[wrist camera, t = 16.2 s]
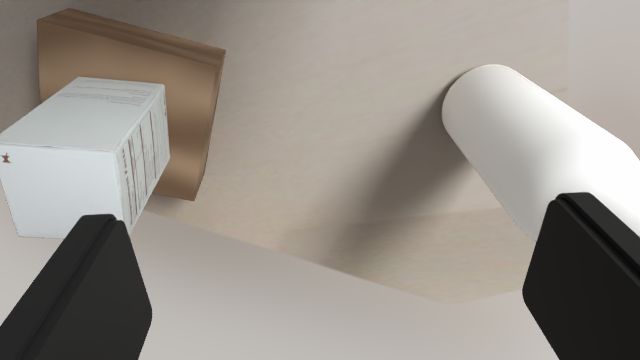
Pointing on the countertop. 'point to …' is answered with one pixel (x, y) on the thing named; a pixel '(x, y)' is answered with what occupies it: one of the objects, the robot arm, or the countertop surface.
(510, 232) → the countertop surface
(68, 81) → the walnut block
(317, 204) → the countertop surface
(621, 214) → the white bottle
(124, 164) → the supplement box
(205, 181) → the countertop surface
